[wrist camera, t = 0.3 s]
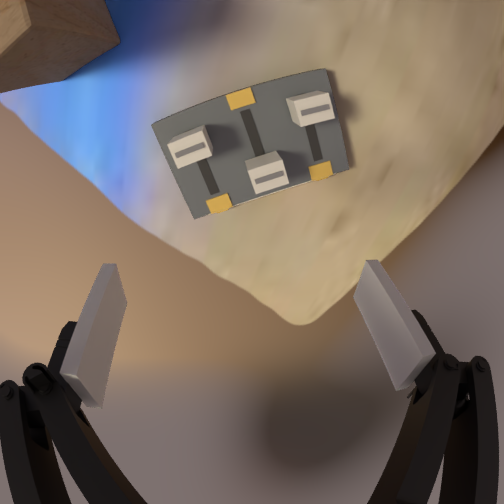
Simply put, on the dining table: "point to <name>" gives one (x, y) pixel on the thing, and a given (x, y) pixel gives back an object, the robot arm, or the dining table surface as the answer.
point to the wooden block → (51, 39)
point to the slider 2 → (266, 172)
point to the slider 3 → (310, 108)
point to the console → (253, 142)
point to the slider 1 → (190, 146)
